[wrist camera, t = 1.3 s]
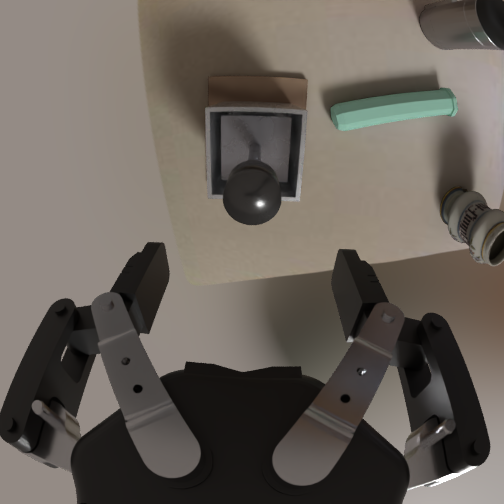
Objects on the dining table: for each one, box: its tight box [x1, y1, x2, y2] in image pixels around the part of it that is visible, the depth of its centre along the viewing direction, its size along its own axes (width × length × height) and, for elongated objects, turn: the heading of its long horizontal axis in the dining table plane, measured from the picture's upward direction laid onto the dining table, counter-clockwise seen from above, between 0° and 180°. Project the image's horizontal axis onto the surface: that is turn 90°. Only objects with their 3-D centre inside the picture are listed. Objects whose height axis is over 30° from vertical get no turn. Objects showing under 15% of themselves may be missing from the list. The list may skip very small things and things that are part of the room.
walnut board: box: [208, 76, 308, 110], centre depth 43 cm, size 20×16×1 cm
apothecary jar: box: [440, 187, 504, 266], centre depth 41 cm, size 12×12×18 cm
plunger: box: [221, 115, 292, 225], centre depth 26 cm, size 8×8×17 cm
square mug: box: [205, 101, 307, 202], centre depth 37 cm, size 14×11×16 cm
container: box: [331, 88, 458, 131], centre depth 37 cm, size 6×6×25 cm
